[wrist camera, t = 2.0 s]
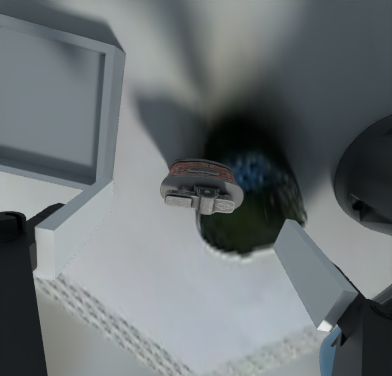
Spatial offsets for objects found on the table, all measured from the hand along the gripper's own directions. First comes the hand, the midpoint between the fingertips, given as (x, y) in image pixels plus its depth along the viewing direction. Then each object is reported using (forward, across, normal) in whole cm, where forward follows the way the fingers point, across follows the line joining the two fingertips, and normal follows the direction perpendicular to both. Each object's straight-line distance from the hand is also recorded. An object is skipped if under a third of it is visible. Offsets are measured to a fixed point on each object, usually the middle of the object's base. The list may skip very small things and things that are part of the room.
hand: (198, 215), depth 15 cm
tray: (+12, +18, -3) cm, 22 cm away
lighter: (+12, 0, 0) cm, 12 cm away
